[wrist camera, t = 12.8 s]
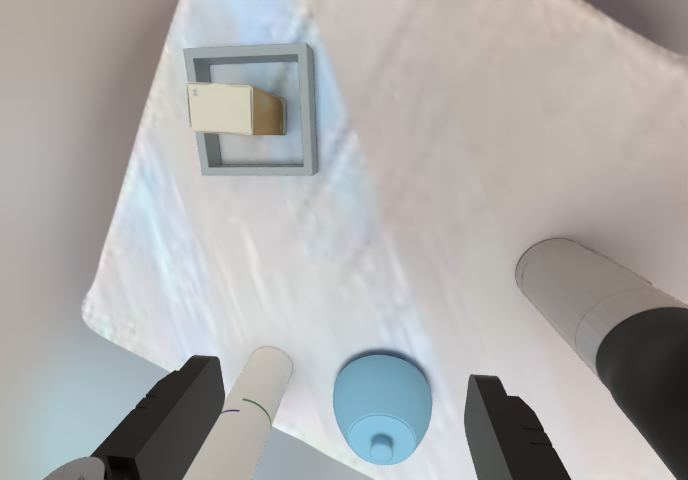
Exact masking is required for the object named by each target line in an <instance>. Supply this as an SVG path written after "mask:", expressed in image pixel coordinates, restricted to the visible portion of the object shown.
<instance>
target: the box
mask: <svg viewBox="0 0 688 480" xmlns="http://www.w3.org/2000/svg"><path fill="white" fill-rule="evenodd" d="M183 51H184V58H185V65H186V71H187V78H188V82H202V83H211V78H210V70H209V65H214V64H238V63H262V62H286V61H298V69H299V88H300V107H301V126H302V145H303V163H304V165H222V163H221V155H220V147H219V140H218V134H216V133H204V132H197V131H196V138H197V145H198V151H199V158H200V165H201V171H202V176H312V175H314V174H316V173H317V172H318V167H317V142H316V117H315V92H314V66H313V50H312V49H311V48H310V47H309V46H308V44H307V43H293V44H272V45H251V46H230V47H209V48H188V49H183Z"/></svg>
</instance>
